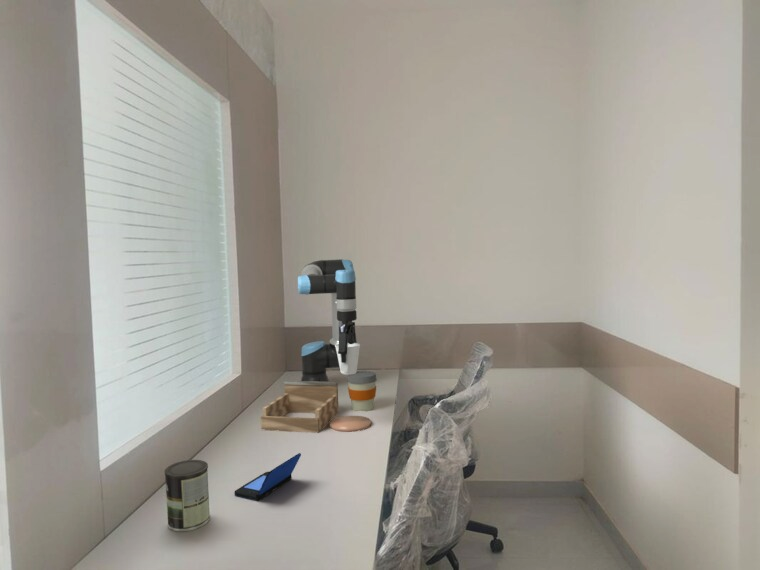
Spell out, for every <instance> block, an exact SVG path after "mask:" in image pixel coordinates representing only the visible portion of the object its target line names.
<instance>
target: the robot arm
mask: <svg viewBox="0 0 760 570" xmlns="http://www.w3.org/2000/svg"><path fill="white" fill-rule="evenodd" d="M353 264H354V263H353V262H352V261H351V260H350V259H343V258H342V259H321V260H316V261H312V262H310V263H308V264H306V265H305V266H304V267H303V268H302V270H301V272H300V273H301V274H300V275H298V277H297V291H298V294H299V295H317V294H318V295H320V294H323V295H324V294H331V325H332V326H331V327H332V329H331V330H332V331H331V333H332V338H330V340H329V343H327V344H326V342H325V341H323V340H321V341H312V342H309V343H306V344H303V346H302V347H301V353H300V354H301V371H302V372H301V373H302V376H301V379H300V381H316V382H330V380H329V378H328V375H327V374H328V373H327V369H333V368H334V369H335V368H337V369H338V368H340V366H339V361H338V356H337V351H336V347H335V345H337V344H339V348H338V354H340V356H341V371H348V353H347V347H348V343H349V344H352V343H358V342H357V335H356V334H357V333H356V323H355V321H356V320H357V319H358V317H357V315H358V314H357V311H356V309H357V293H356V289H357V287H356V280H357V279H356V273H355V270H354V266H353Z"/></svg>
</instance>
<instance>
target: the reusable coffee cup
mask: <svg viewBox="0 0 760 570" xmlns="http://www.w3.org/2000/svg"><path fill="white" fill-rule="evenodd" d="M346 382H347V383H348V384H347V385H348V387H347V389H348V396H349V399H350V402H351V408H352V410H353V412H358V411H365V412H369V411H368V410H370V411H372V410H374V405H375V398H376V392H377V386H376V384H377V373H376V372H374V371H371V370H359V371H358V370H357V372H356V373H355V374H351V375H347V380H346Z"/></svg>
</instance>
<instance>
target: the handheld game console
mask: <svg viewBox="0 0 760 570" xmlns="http://www.w3.org/2000/svg"><path fill="white" fill-rule="evenodd" d="M301 456H302V454H301V452H299V453H297V454H295V455H294V456H292V457H290V458H289V459H287V460H286V461H284V462H282V463H281V464H279V465H277V466H276V467H275V468H273V469H271V470H269V471H265V472H263V473H262V474H260V475H259V476H257V477H255V478H253V479H252V480H250V481H248V482H247V483H245V484H243V485H242V486H240V487H239V488H237V489H235V490H234V491H233V492H234V496H235V497H240V498H244V499H247V500H253V501H256V502H260V501H261V500H263V499H264V498H266V497H267V496H269V495H270V494H272V493H273V491H275V490H276V489H279V488H280V487H282V486H284V485H285V484H288V483H289V482H290V481H292V478H293V477H292V475H293V471H294V469H295V468H296V466H297V464H298V463H299V460H300V458H301Z"/></svg>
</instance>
